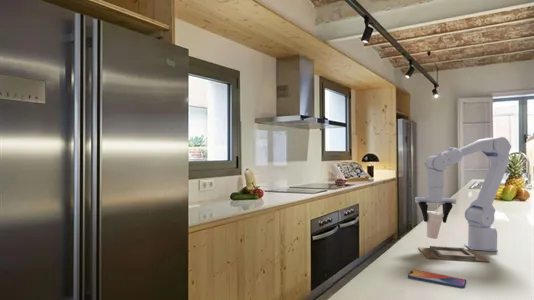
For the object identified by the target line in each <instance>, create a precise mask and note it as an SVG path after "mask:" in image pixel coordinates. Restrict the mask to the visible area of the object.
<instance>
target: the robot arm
mask: <svg viewBox="0 0 534 300" xmlns="http://www.w3.org/2000/svg"><path fill="white" fill-rule="evenodd" d="M511 150H512V145H511V144H510V141H509V139H508V138H506V137H505V136H498V137H484V138H480V139H477V140H475V141H473V142H471V143H469V144H467V145H464V146H462V147H460V148H457V147H448V148H447V150H445V151H442V152H441V151H439V152H436V155H429V156H427V158H426V159H425V162H424V166H425V168H426V169H427V170H426V173H427V188H426V190H427V195H426V196H422V197H421V196H415V197H414V202H415V203H416V204H418V206H419V208H420V211H421V213H422V216H423V217H422V219H423V221H424V222H425V223H427V211H428V208H429V204H437V202H439V204H441V206H442V213H443V214H444V217H443V218H442V222H443V223H444V224H446V223H447V220H448V217H449V214H450V212H451V211H452V208H453V207H454V205H457V199H456V198H452V197H451V198H450V197H444V196H445V195H444V194H445V193H444V190H445V189H444V188H445V187H444V184H445V183H444V181H445V170H446V169H447V167H449V166H450V167H451V166H452V165H455V164H457V163H459V162H461V161H463V158H464V157H466V156H468V155H471V154H475V153H476V152H482V154H483V155H484V156H485V157H486V158H487V159H488V160H489V161H490V165H489V167H488V171H487V173H486V174H485V178H484V180H483V182H482V185H481V187H480V190H479V193H478V195H477V198H476V199H475V200H473V201H471V203H470V205H469V206H468V207H467V208H466V209H465V211H464V218H465V220H466V221H467V224H468V233H467V235H468V236H467V238H468V239H467V243H464V244H463V245H464V246H465V247H466V248H468V249H469V250H474V251H486V252H487V251H488V252H498V251H499V250H498V231H497V228H496V227H495V226H492V225H493V224H494V222H495V214H496V213H495V212H497V211H496V209H495V207H494V205H493V204H494V200H495V198H496V197H497V193H498V191H499V188H500V185H501V183H502V181H503V178H504V176H505V173H506V171H507V168H508V166H509V161H510V157H509V155H510V151H511Z"/></svg>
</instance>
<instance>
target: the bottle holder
mask: <svg viewBox="0 0 534 300" xmlns="http://www.w3.org/2000/svg"><path fill="white" fill-rule="evenodd" d="M417 249H418V250H419V252H420V253H421V254H423V256H424V257H425V258H426V259H427V260H428V259H429V260H439V261H440V260H442V261H443V260H445V261H458V262H460V261H461V262H473V263H475V262H476V263H477V262H478V263H490V260H489V259H488V258H486V257H484V256H483V255H481V254H480V253H478V252H476V250H471V249H465V247H456V246H455V247H454V246H440V245H439V246H437V245H429V247H421V246H419V247H417Z"/></svg>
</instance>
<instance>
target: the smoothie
mask: <svg viewBox="0 0 534 300" xmlns="http://www.w3.org/2000/svg"><path fill="white" fill-rule="evenodd" d="M436 202H437V203H436V210H435V211H434V210H427V222H426V237H427V238H429V239H434V240H437V239H438V237H439V234H440V233H439V232H440V230H441V226H442V222H443V217H444V214H443V212H440V211H439V204H440V203H439V202H440V201H436Z"/></svg>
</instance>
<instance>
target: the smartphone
mask: <svg viewBox="0 0 534 300" xmlns="http://www.w3.org/2000/svg"><path fill="white" fill-rule="evenodd" d="M407 278H408V279H411V280H417V281H420V282H427V283H431V284H437V285H442V286H447V287H453V288H458V289H459V288H460V289H464V288H466V285H467V279H464V278H459V277H454V276H450V275H444V274H440V273H435V272H429V271H424V270H419V269H411V270H410V272H408V274H407Z"/></svg>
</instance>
